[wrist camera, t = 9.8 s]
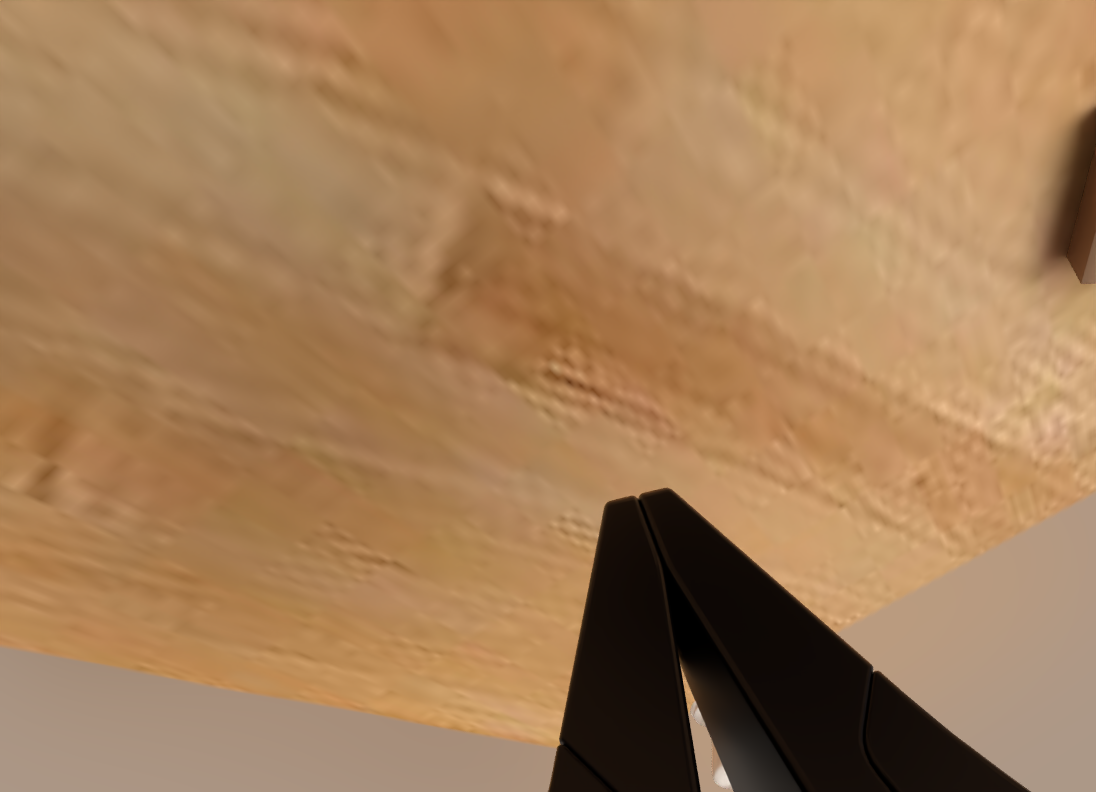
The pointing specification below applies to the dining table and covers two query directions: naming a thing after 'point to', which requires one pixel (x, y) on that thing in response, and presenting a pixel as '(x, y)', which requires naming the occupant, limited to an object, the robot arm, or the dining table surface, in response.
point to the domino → (1085, 232)
